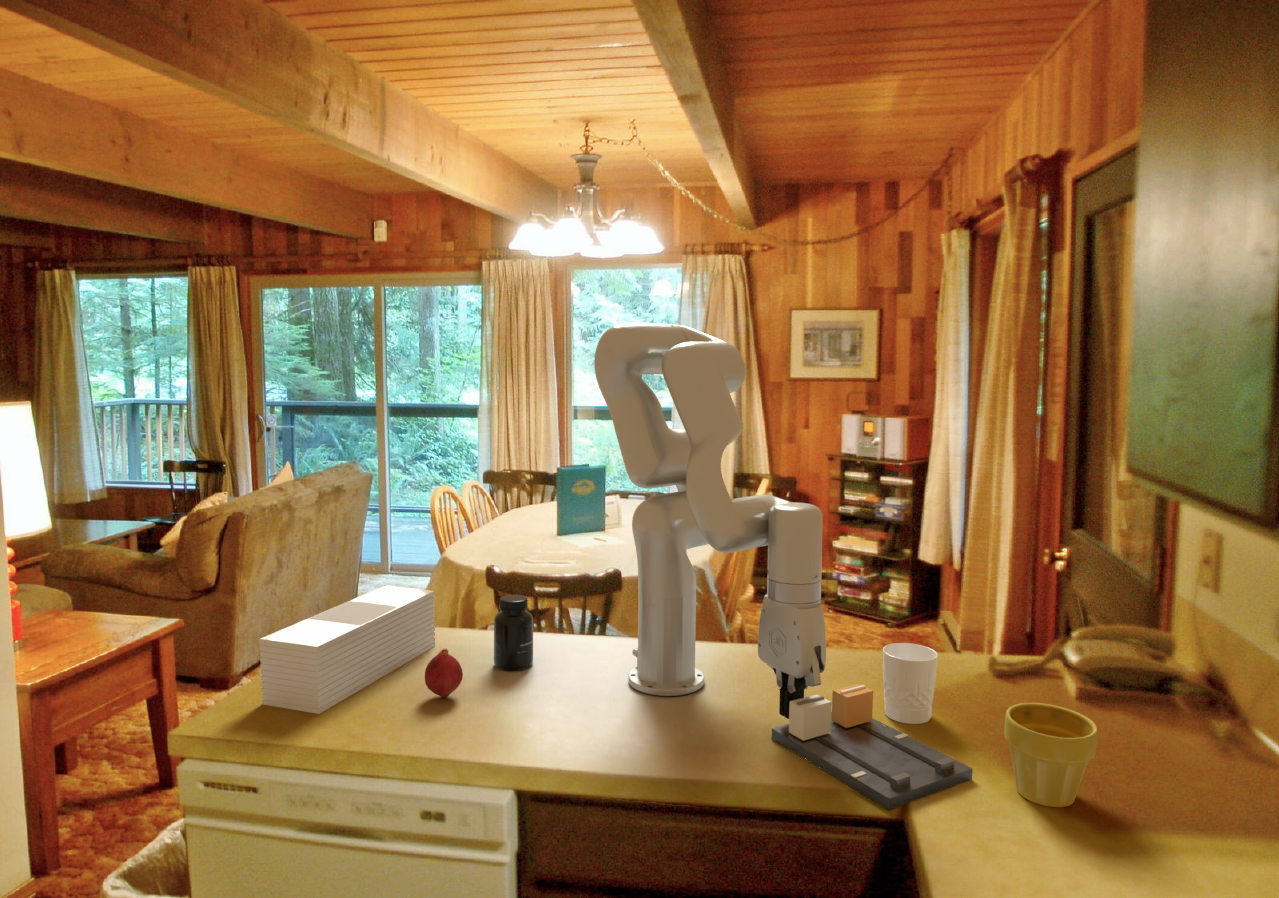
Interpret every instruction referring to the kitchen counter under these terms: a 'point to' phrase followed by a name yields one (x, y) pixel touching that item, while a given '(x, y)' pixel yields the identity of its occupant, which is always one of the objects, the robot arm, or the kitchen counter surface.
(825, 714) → the fader
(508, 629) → the supplement bottle
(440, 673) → the onion
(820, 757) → the console board
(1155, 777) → the kitchen counter surface
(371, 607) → the stack of papers
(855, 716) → the block
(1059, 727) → the plant pot
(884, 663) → the white cup
